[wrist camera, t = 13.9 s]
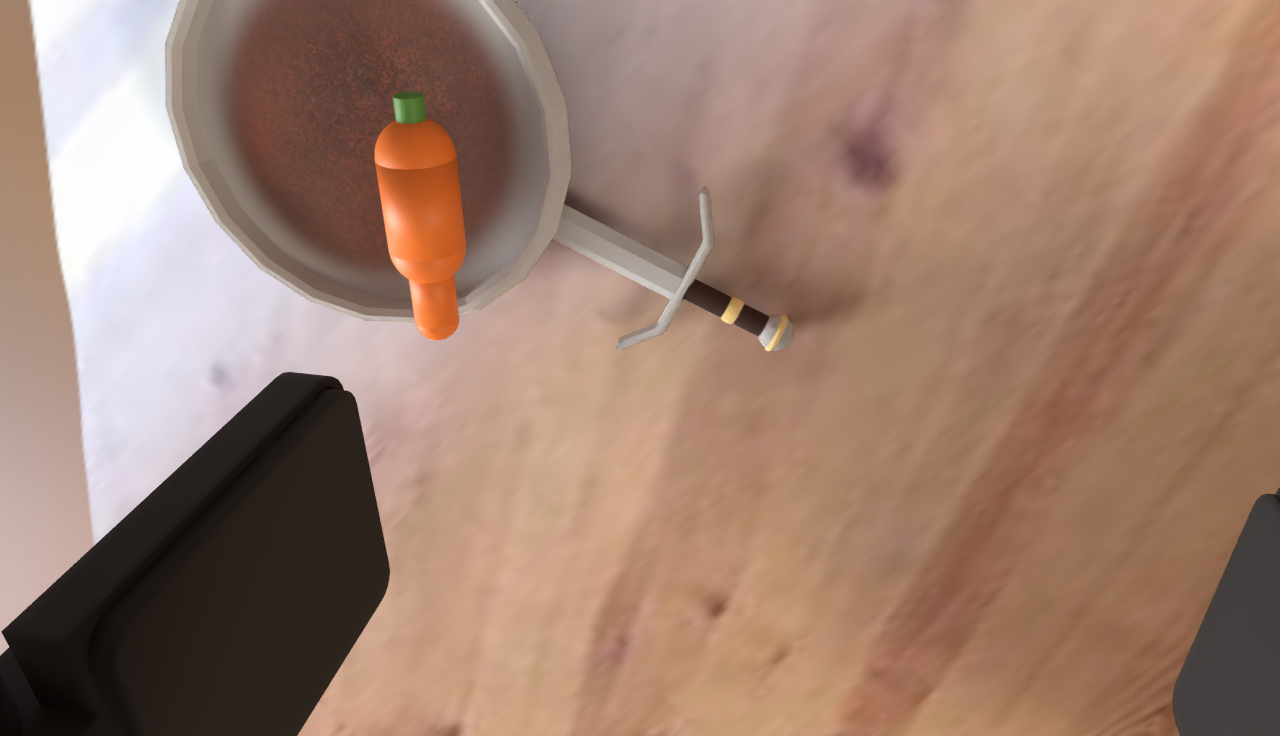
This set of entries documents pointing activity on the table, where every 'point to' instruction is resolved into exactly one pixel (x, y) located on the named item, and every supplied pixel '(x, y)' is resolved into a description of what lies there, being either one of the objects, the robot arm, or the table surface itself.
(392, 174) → the carrot
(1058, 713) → the table surface
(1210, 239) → the table surface
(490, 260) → the frying pan
